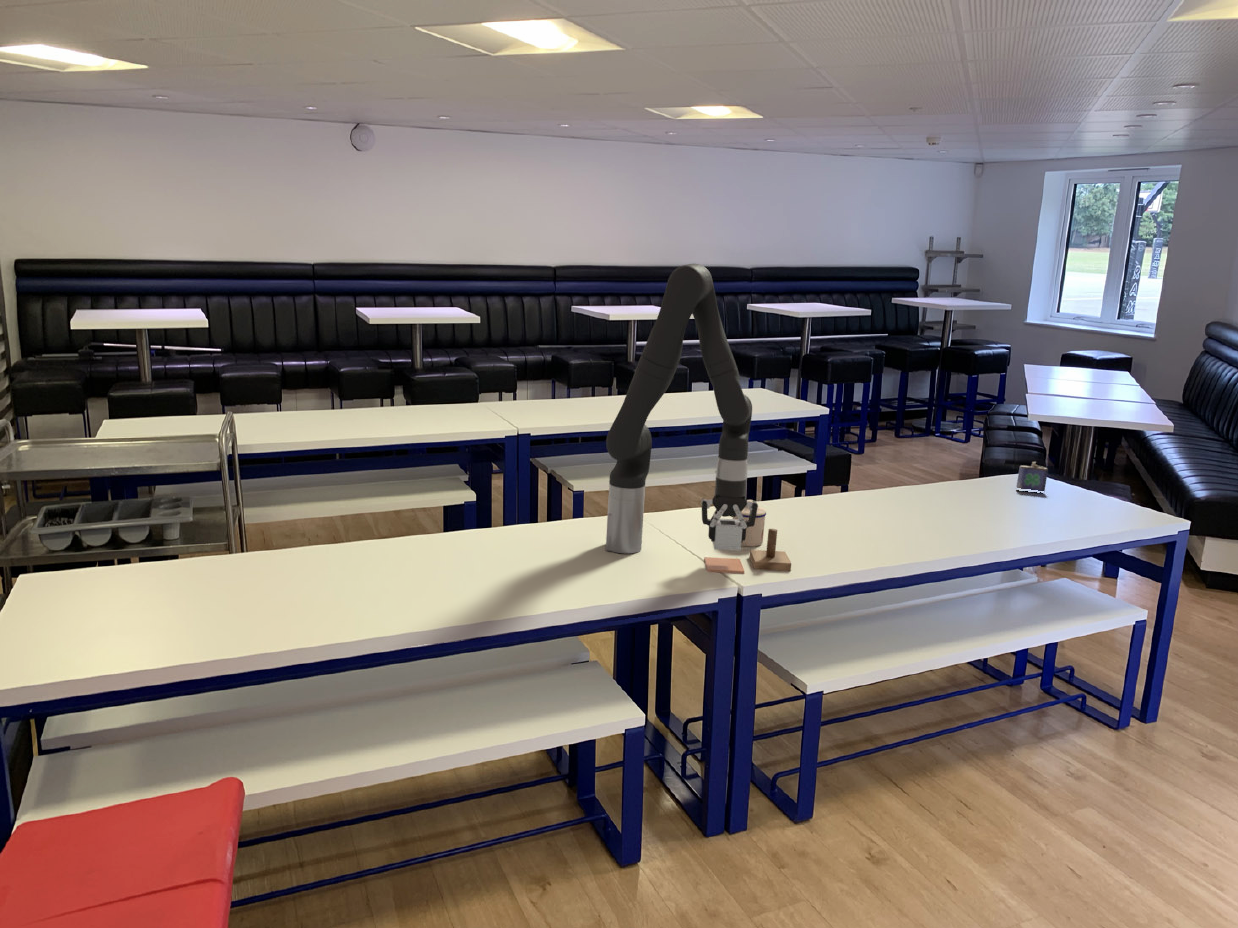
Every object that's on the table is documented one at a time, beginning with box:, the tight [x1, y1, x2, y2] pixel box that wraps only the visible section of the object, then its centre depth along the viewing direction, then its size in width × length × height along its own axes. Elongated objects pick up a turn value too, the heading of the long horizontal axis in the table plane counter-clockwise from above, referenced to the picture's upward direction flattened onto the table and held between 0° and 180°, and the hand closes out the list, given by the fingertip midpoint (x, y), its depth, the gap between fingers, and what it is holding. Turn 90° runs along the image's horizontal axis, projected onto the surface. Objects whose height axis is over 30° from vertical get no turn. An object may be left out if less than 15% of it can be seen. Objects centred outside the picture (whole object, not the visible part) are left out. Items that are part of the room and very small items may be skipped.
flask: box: [1015, 461, 1049, 492], centre depth 321 cm, size 9×3×11 cm, turn 75°
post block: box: [749, 528, 792, 572], centre depth 233 cm, size 9×9×9 cm
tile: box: [703, 556, 745, 574], centre depth 231 cm, size 9×9×1 cm
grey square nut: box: [711, 518, 742, 552], centre depth 229 cm, size 6×6×6 cm
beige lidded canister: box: [732, 499, 767, 548], centre depth 251 cm, size 12×9×12 cm
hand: (726, 541), depth 229 cm, fingers closed on grey square nut, 6 cm apart
